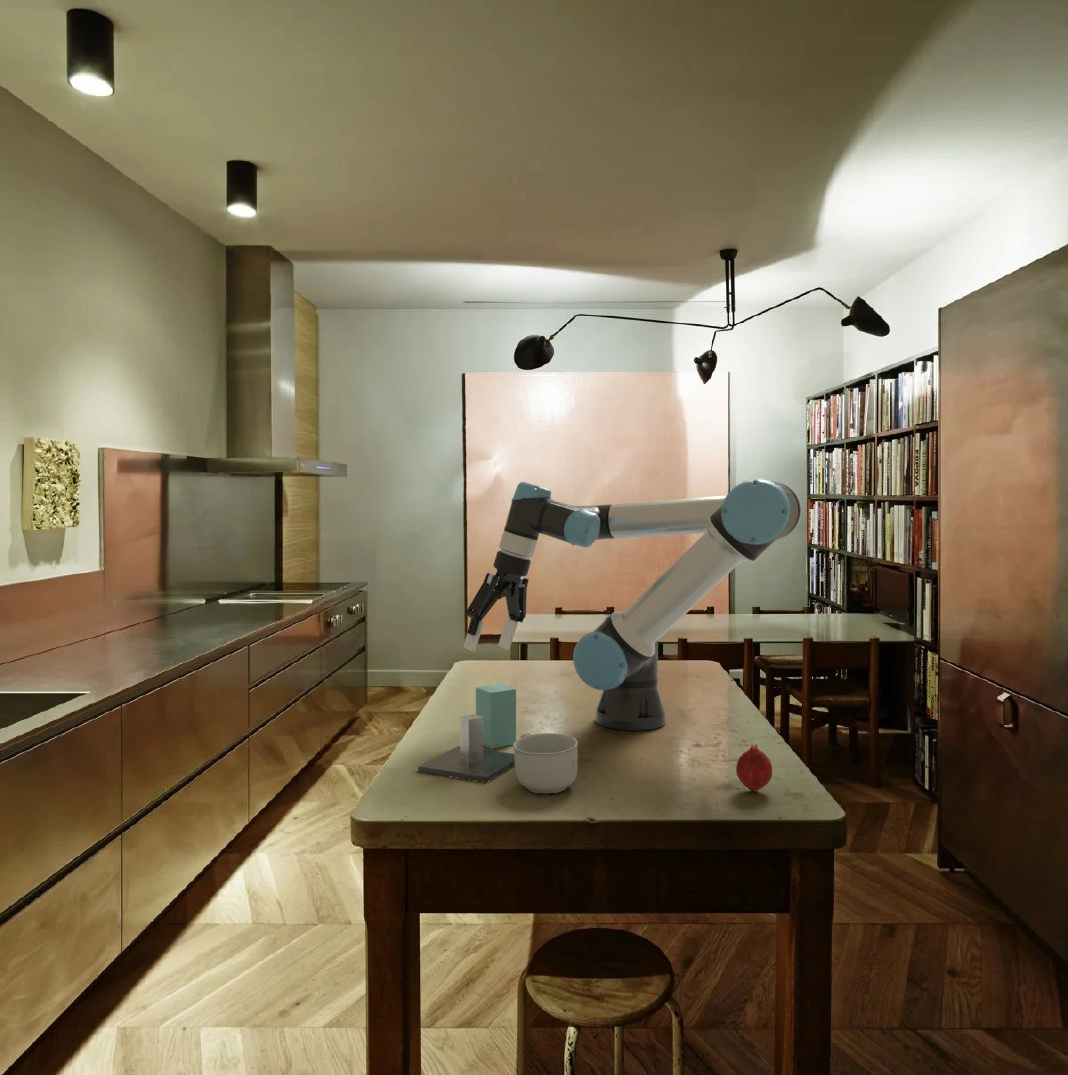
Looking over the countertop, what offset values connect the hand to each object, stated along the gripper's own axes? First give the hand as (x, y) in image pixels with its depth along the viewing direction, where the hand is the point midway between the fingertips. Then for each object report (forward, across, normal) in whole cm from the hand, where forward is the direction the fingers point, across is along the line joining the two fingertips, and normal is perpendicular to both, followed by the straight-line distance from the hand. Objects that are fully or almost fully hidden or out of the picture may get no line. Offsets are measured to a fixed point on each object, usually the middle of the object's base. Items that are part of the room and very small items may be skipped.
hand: (486, 648), depth 180 cm
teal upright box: (+15, +8, +13) cm, 21 cm away
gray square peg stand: (+15, +23, +18) cm, 33 cm away
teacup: (+12, +26, +34) cm, 44 cm away
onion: (+2, +11, +64) cm, 65 cm away
